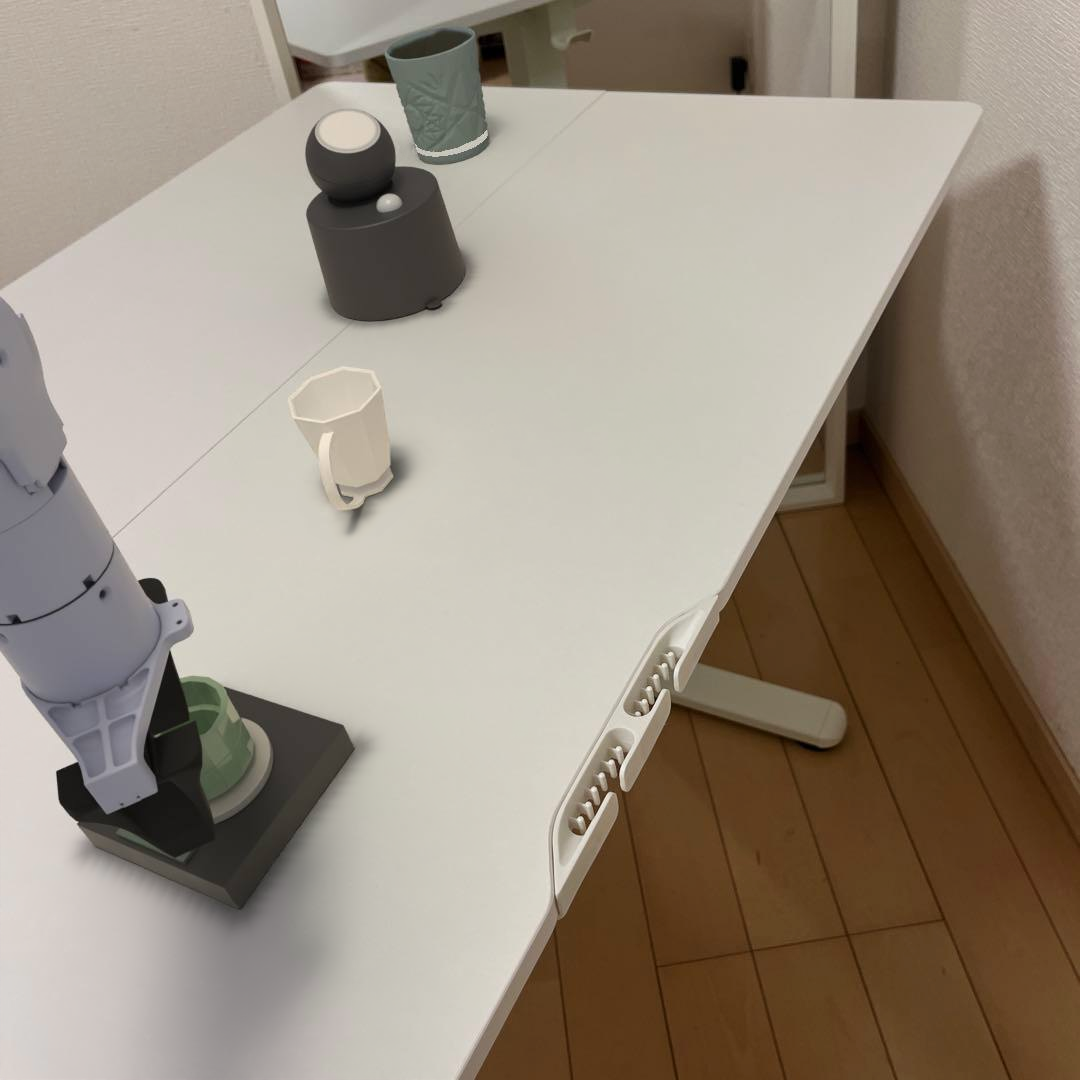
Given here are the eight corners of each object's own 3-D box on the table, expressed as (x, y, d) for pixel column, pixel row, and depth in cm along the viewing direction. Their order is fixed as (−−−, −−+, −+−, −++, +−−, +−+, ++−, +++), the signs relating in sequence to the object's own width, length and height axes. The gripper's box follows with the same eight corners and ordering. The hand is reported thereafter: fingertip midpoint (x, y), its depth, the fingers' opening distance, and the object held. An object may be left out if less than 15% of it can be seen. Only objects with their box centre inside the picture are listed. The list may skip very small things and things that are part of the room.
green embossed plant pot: (407, 172, 126) (377, 65, 118) (417, 136, 133) (391, 34, 125) (493, 158, 124) (470, 49, 116) (499, 123, 132) (478, 18, 124)
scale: (239, 910, 58) (220, 881, 56) (93, 845, 63) (70, 817, 61) (355, 748, 64) (340, 718, 63) (214, 701, 69) (197, 672, 68)
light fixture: (321, 170, 88) (249, 133, 98) (376, 340, 99) (306, 291, 108) (457, 109, 93) (376, 78, 103) (497, 277, 103) (419, 235, 113)
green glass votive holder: (201, 825, 59) (167, 775, 56) (139, 782, 62) (104, 732, 59) (276, 750, 62) (248, 699, 59) (214, 712, 65) (184, 662, 62)
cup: (417, 446, 86) (389, 359, 80) (396, 533, 78) (364, 443, 73) (331, 456, 87) (297, 370, 82) (302, 542, 80) (264, 454, 74)
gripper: (168, 648, 38) (296, 862, 47) (122, 440, 49) (234, 647, 57) (-37, 734, 37) (135, 937, 46) (-38, 501, 47) (101, 703, 56)
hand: (180, 780), depth 51 cm, fingers open, 7 cm apart
